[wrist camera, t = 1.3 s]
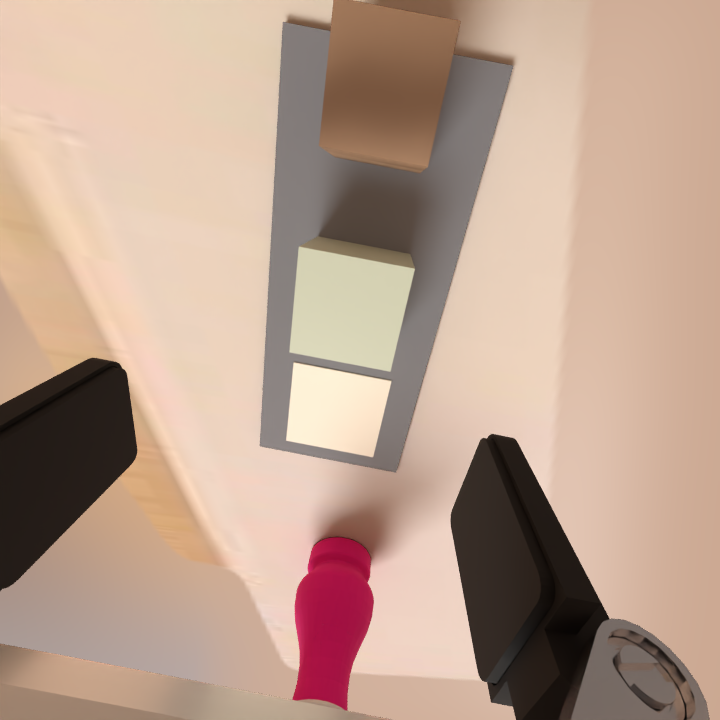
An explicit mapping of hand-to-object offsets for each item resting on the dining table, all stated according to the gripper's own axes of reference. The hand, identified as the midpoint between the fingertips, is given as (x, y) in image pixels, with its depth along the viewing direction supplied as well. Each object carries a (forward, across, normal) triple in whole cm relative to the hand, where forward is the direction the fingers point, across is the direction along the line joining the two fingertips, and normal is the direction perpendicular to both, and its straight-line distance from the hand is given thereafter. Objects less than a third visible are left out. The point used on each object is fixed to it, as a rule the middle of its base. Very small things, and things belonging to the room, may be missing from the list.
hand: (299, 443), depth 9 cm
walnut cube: (+16, 0, -10) cm, 19 cm away
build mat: (+16, 0, +1) cm, 16 cm away
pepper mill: (+17, -3, +28) cm, 32 cm away
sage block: (+16, 0, 0) cm, 16 cm away
